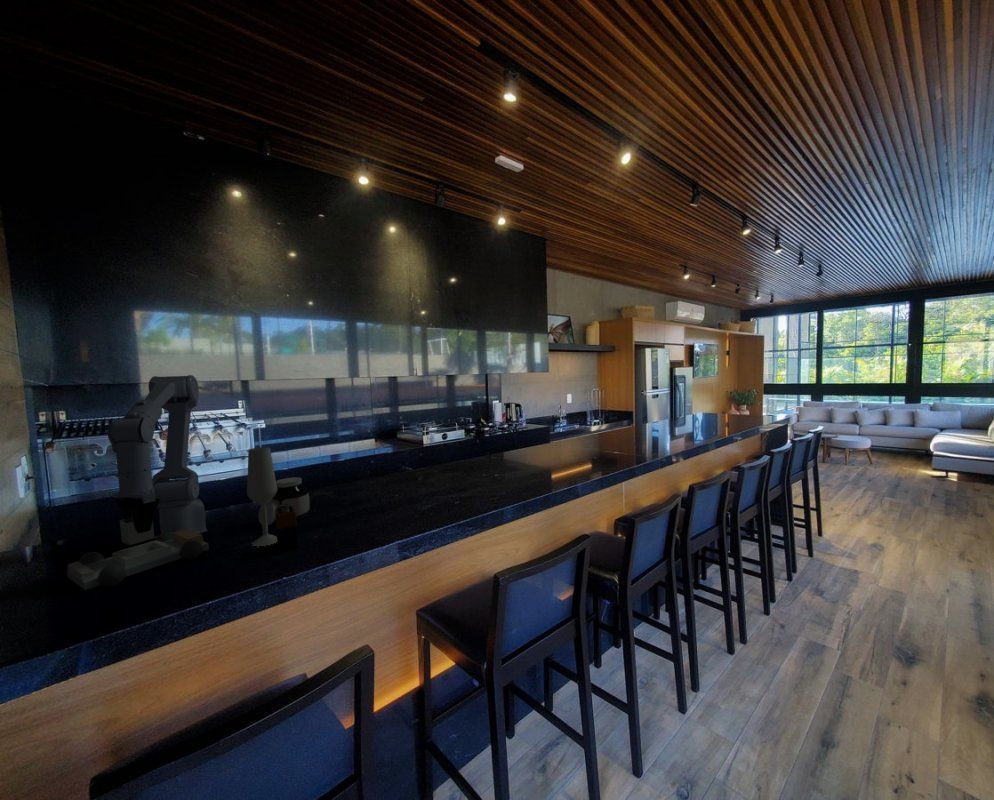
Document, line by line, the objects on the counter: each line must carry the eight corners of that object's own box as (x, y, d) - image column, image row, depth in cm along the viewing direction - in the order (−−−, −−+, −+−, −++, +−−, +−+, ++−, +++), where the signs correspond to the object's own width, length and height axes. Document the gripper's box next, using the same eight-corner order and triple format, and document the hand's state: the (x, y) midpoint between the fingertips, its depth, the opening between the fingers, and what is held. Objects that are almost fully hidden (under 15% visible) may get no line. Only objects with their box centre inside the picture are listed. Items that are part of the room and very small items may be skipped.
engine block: (146, 534, 97) (144, 511, 96) (154, 538, 94) (152, 513, 94) (121, 541, 93) (119, 517, 93) (129, 545, 91) (126, 519, 90)
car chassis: (184, 541, 108) (183, 526, 108) (212, 552, 100) (211, 536, 99) (65, 577, 89) (63, 559, 89) (87, 594, 81) (85, 574, 81)
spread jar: (314, 514, 127) (311, 476, 126) (292, 527, 116) (289, 486, 115) (277, 514, 128) (275, 477, 127) (252, 527, 117) (249, 486, 116)
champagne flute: (253, 539, 107) (246, 448, 106) (282, 535, 110) (276, 445, 108) (248, 549, 101) (240, 452, 100) (278, 544, 103) (272, 449, 102)
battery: (296, 539, 106) (293, 501, 105) (298, 548, 100) (295, 508, 99) (277, 543, 104) (274, 504, 103) (278, 552, 98) (275, 511, 97)
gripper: (100, 472, 94) (105, 530, 94) (123, 477, 86) (129, 541, 87) (139, 465, 100) (144, 521, 100) (164, 470, 92) (169, 530, 93)
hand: (139, 529), depth 94 cm, fingers closed on engine block, 4 cm apart
